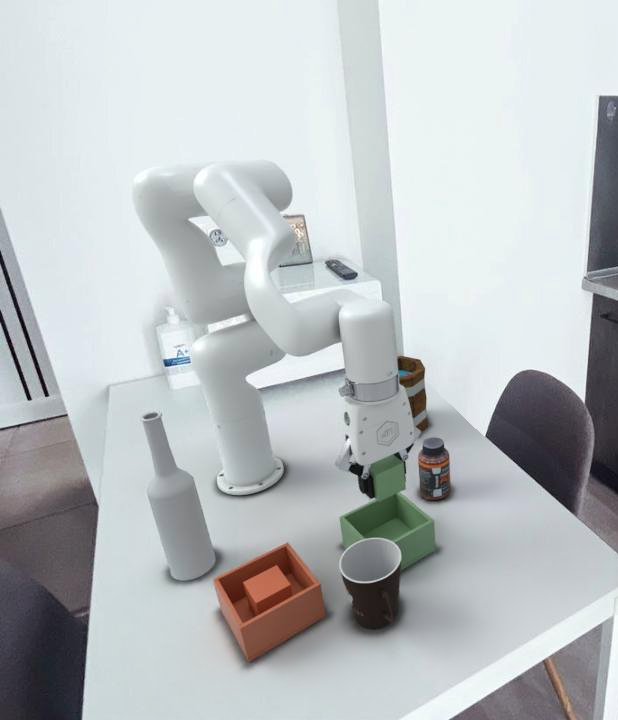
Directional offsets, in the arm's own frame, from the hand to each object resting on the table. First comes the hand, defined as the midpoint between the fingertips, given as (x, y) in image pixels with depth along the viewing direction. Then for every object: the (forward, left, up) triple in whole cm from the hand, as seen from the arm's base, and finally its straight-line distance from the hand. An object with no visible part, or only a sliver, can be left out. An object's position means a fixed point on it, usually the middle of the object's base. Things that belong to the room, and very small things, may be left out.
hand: (383, 485), depth 87 cm
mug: (-33, +21, -13) cm, 41 cm away
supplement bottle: (-7, +15, -13) cm, 21 cm away
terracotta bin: (0, -20, -13) cm, 24 cm away
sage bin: (0, 0, -13) cm, 13 cm away
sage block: (0, 0, 0) cm, 0 cm away
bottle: (-18, -26, -13) cm, 34 cm away
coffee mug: (+11, -9, -13) cm, 19 cm away
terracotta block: (0, -20, -12) cm, 23 cm away
